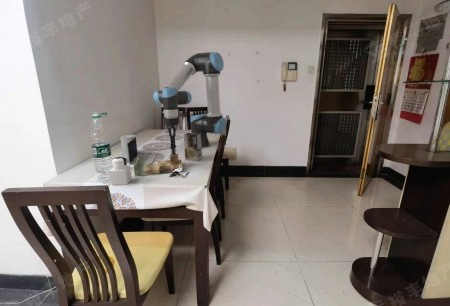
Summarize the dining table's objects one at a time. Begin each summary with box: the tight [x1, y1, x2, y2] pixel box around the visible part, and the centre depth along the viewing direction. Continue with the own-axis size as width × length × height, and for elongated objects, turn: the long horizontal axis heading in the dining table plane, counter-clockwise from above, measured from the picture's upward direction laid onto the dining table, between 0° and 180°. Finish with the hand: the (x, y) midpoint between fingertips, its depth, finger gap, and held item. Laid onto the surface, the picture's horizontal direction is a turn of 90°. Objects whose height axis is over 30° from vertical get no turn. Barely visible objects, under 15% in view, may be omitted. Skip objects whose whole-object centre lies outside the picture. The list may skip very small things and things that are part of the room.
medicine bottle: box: [109, 156, 132, 186], centre depth 111 cm, size 7×7×12 cm
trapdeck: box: [133, 157, 184, 177], centre depth 129 cm, size 24×15×6 cm, turn 103°
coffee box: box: [183, 132, 203, 162], centre depth 145 cm, size 9×6×16 cm
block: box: [169, 153, 179, 165], centre depth 131 cm, size 4×4×4 cm
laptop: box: [127, 136, 157, 166], centre depth 144 cm, size 18×12×13 cm
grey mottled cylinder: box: [119, 134, 139, 157], centre depth 156 cm, size 10×10×12 cm
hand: (173, 159), depth 134 cm, fingers closed
